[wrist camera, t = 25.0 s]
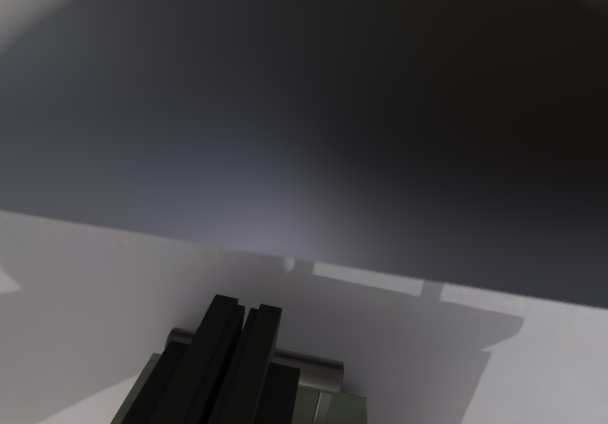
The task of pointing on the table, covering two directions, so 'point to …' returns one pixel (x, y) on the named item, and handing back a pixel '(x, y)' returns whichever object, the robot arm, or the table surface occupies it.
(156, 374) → the robot arm
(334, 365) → the drawer
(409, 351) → the table surface
